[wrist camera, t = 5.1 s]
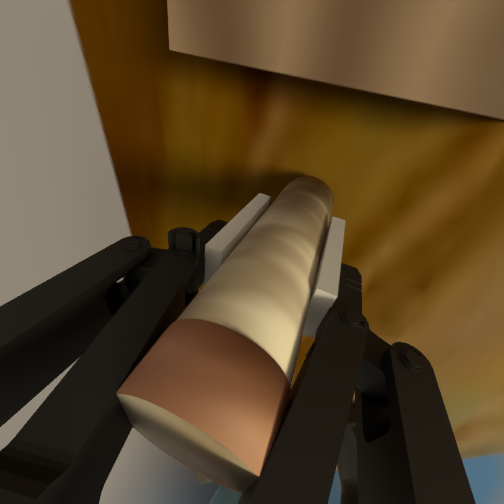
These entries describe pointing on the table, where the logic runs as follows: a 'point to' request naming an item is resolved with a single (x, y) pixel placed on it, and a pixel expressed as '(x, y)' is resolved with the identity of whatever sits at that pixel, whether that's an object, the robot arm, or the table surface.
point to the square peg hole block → (359, 45)
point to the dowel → (235, 347)
